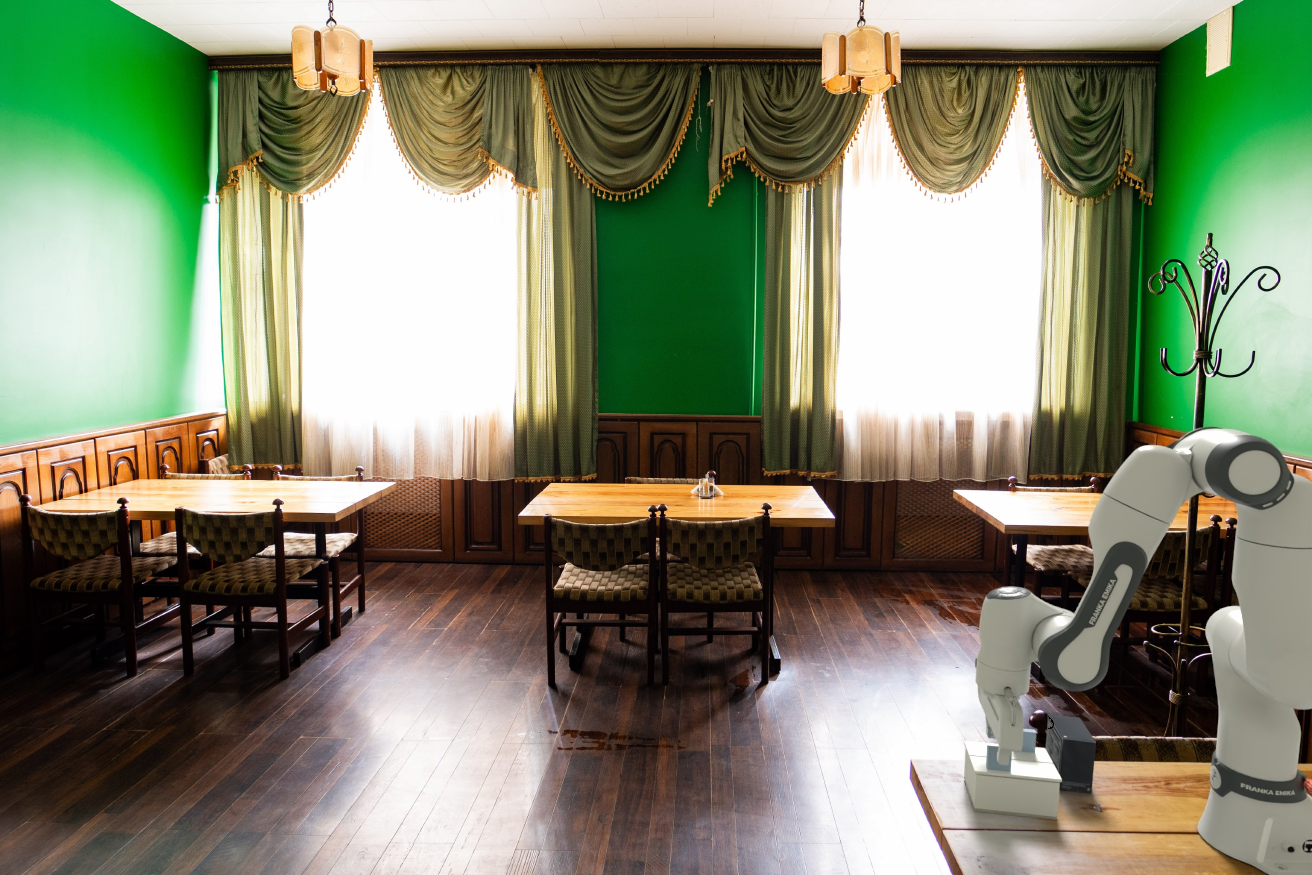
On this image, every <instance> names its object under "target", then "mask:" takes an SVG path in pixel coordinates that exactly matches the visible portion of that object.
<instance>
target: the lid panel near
mask: <svg viewBox="0 0 1312 875" xmlns="http://www.w3.org/2000/svg"><path fill="white" fill-rule="evenodd" d="M998 749H999V746H989V745H987V755H986V757H976V756H969V759H970V762H971V764H972V767H973V770H974V773H975V774H984V775H994V776H1004V777H1014V778H1024V779H1034V780H1044V781H1055V782H1062V779H1061V777H1060V775H1059V773H1058V771H1057V769H1056V768H1055V766H1054V764H1050V763H1039V762H1029V761H1018V760H1011V759H1012V753H1011V755H1010V758H1009V764H1008V765H1000V764H999V763H998V761H997V751H998Z"/></svg>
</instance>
